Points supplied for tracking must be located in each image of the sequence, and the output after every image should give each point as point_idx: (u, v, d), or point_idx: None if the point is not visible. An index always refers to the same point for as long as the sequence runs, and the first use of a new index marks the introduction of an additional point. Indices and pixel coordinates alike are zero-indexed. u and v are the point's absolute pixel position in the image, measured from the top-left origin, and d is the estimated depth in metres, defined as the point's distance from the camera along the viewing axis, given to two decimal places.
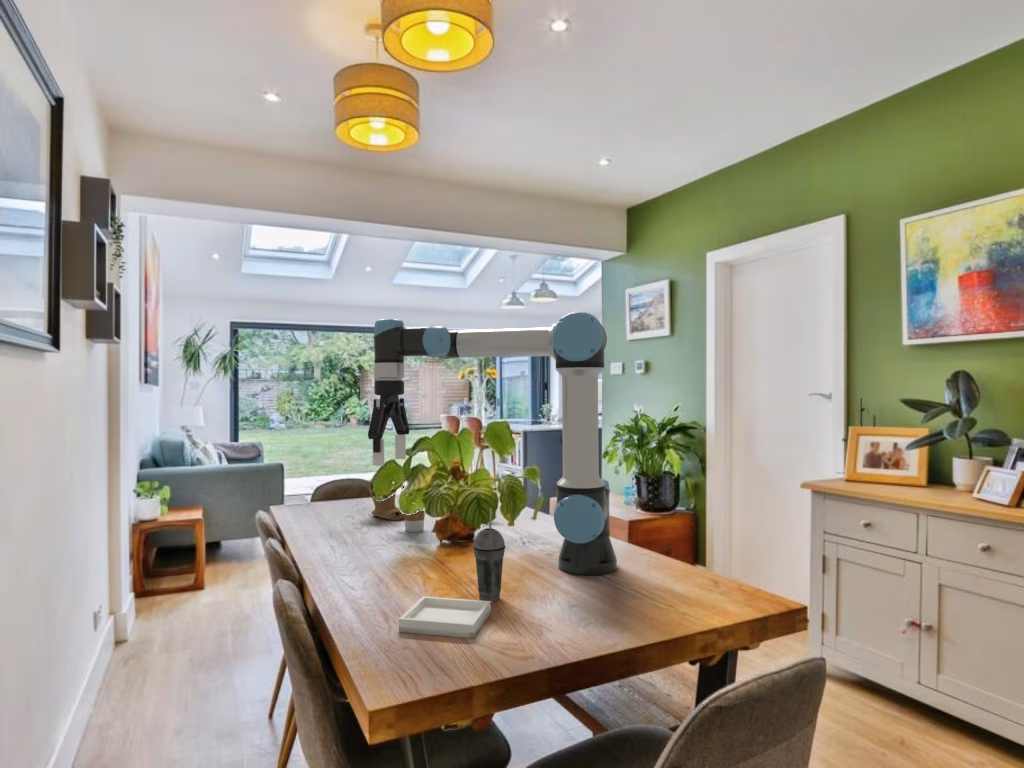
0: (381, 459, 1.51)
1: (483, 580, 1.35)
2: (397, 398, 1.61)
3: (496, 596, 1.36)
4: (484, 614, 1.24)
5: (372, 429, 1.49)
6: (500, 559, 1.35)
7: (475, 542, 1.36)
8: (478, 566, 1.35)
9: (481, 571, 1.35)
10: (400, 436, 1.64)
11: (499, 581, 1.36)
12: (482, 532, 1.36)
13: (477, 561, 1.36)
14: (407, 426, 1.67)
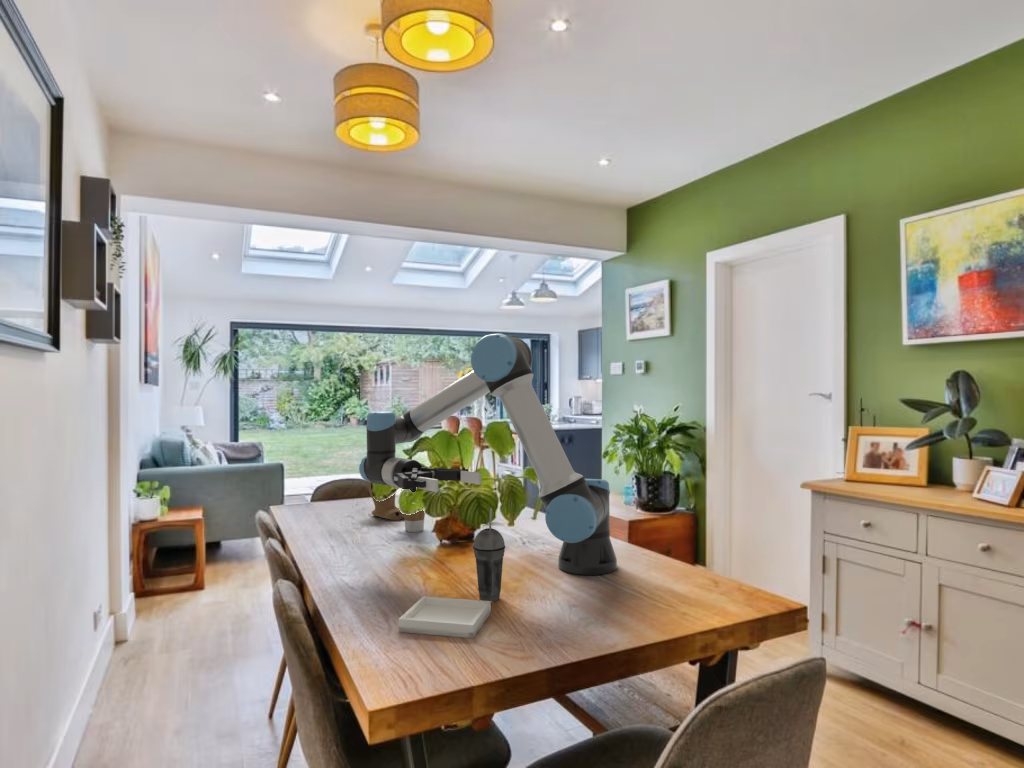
0: (431, 480, 1.40)
1: (483, 580, 1.35)
2: None
3: (496, 596, 1.36)
4: (484, 614, 1.24)
5: (402, 483, 1.43)
6: (500, 559, 1.35)
7: (475, 542, 1.36)
8: (478, 566, 1.35)
9: (481, 571, 1.35)
10: (461, 475, 1.53)
11: (499, 581, 1.36)
12: (482, 532, 1.36)
13: (477, 561, 1.36)
14: (462, 469, 1.56)
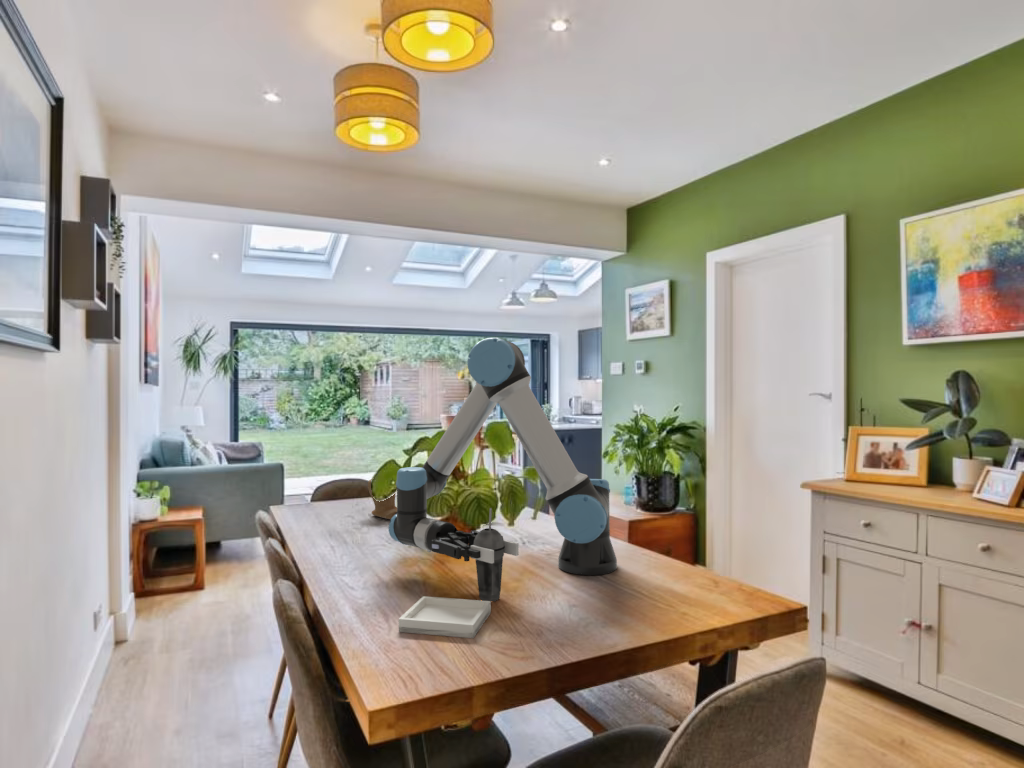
0: (486, 551, 1.32)
1: (483, 581, 1.35)
2: None
3: (496, 596, 1.36)
4: (484, 614, 1.24)
5: (453, 553, 1.35)
6: (500, 559, 1.35)
7: (475, 542, 1.36)
8: (478, 566, 1.35)
9: (481, 571, 1.35)
10: None
11: (499, 581, 1.36)
12: (482, 532, 1.36)
13: (477, 561, 1.36)
14: None
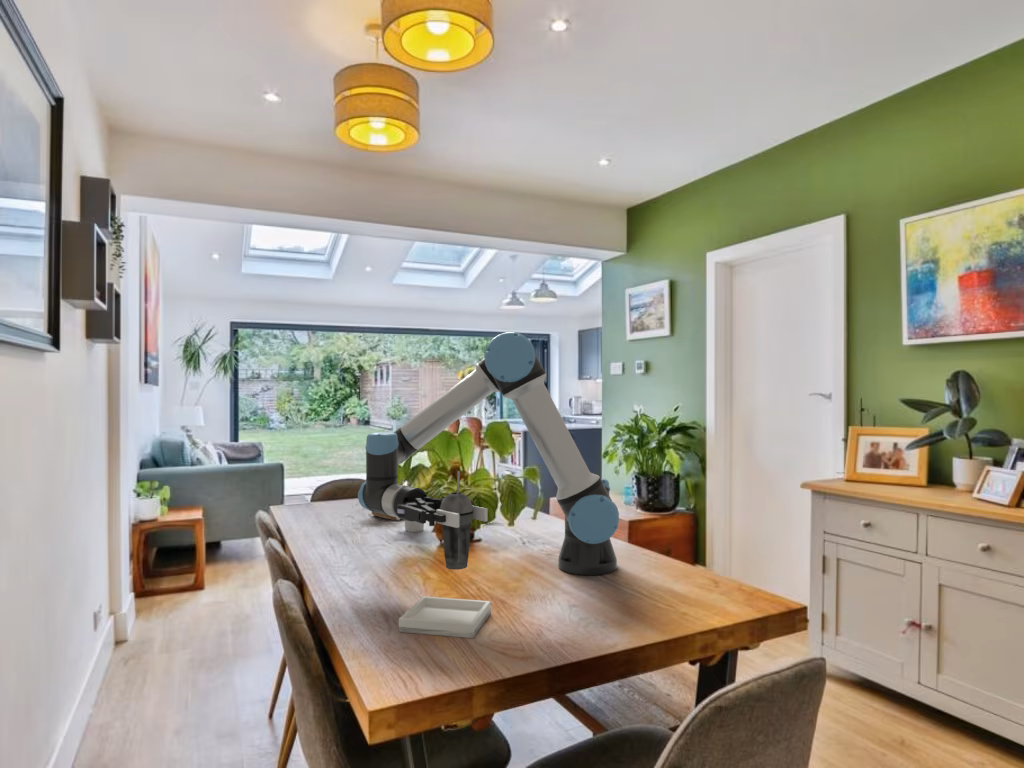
0: (451, 515, 1.24)
1: (449, 547, 1.27)
2: None
3: (463, 563, 1.28)
4: (484, 614, 1.24)
5: (417, 517, 1.27)
6: (467, 524, 1.28)
7: (441, 506, 1.28)
8: (444, 532, 1.28)
9: (447, 537, 1.27)
10: None
11: (466, 548, 1.28)
12: (448, 496, 1.28)
13: (443, 526, 1.28)
14: None
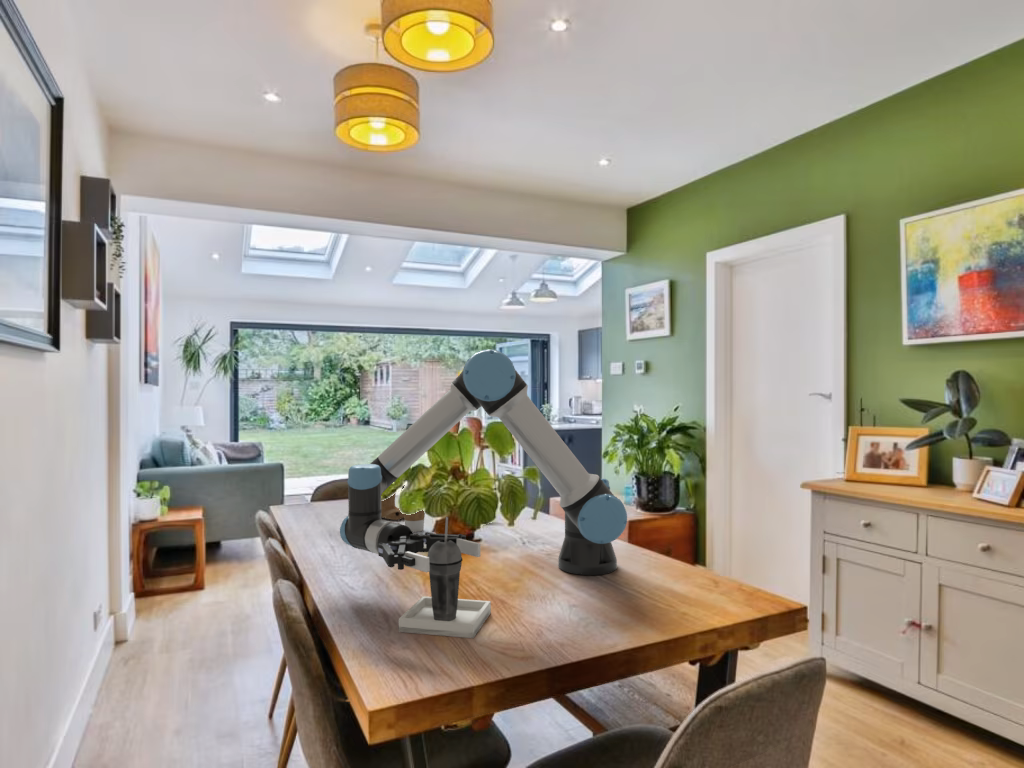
0: (421, 558, 1.18)
1: (437, 598, 1.21)
2: None
3: (452, 615, 1.22)
4: (484, 614, 1.24)
5: (387, 560, 1.21)
6: (456, 574, 1.22)
7: (428, 555, 1.22)
8: (431, 582, 1.22)
9: (435, 588, 1.21)
10: (457, 544, 1.31)
11: (455, 598, 1.22)
12: (436, 544, 1.22)
13: (430, 576, 1.22)
14: (458, 535, 1.34)
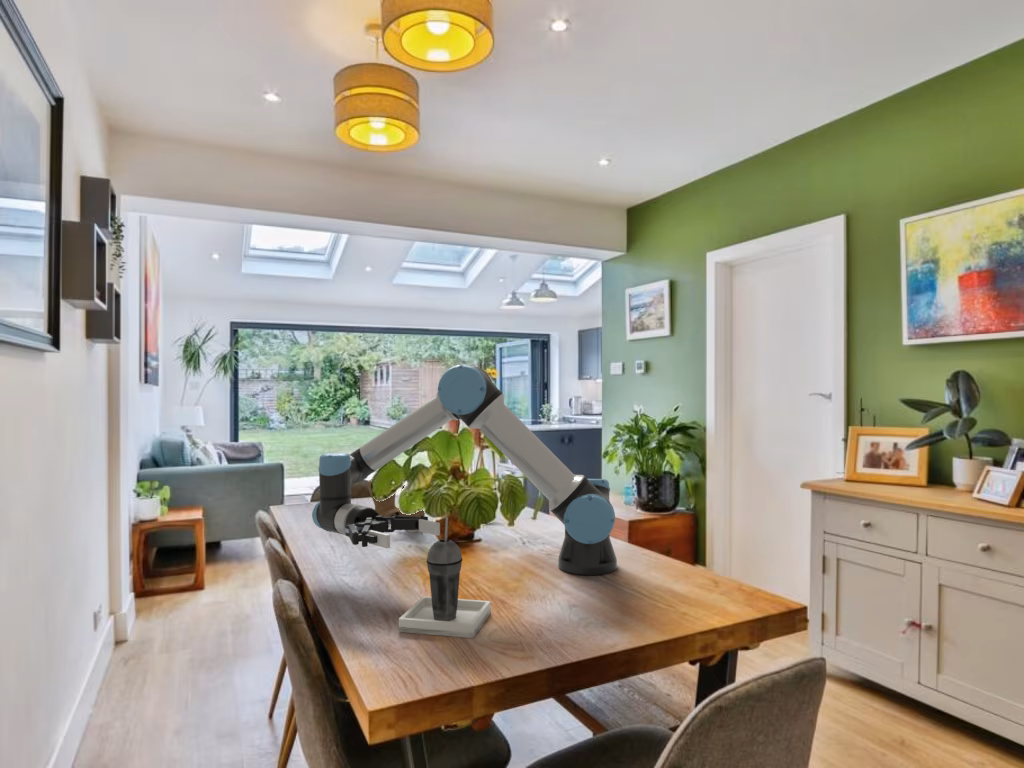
0: (382, 536, 1.27)
1: (437, 598, 1.21)
2: None
3: (452, 615, 1.22)
4: (484, 614, 1.24)
5: (352, 538, 1.31)
6: (456, 574, 1.22)
7: (428, 555, 1.22)
8: (431, 582, 1.22)
9: (435, 588, 1.21)
10: (419, 524, 1.41)
11: (455, 598, 1.22)
12: (436, 544, 1.22)
13: (430, 576, 1.22)
14: None
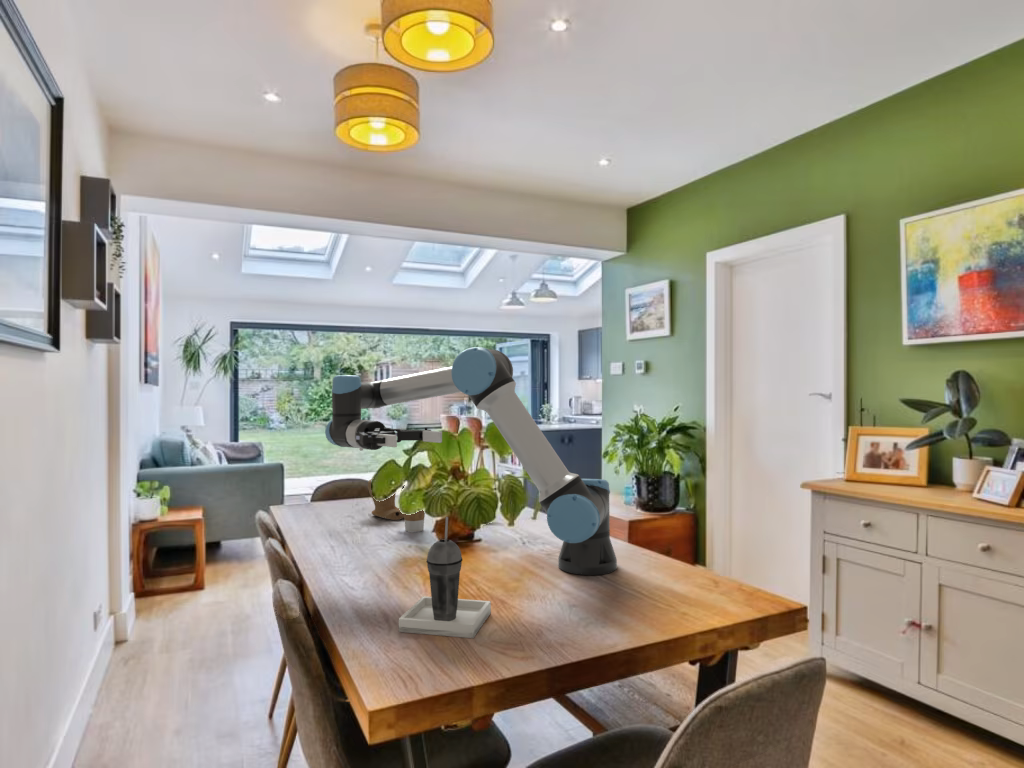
0: (389, 436, 1.41)
1: (437, 598, 1.21)
2: None
3: (452, 615, 1.22)
4: (484, 614, 1.24)
5: (362, 440, 1.45)
6: (456, 574, 1.22)
7: (428, 555, 1.22)
8: (431, 582, 1.22)
9: (435, 588, 1.21)
10: (423, 435, 1.54)
11: (455, 598, 1.22)
12: (436, 544, 1.22)
13: (430, 576, 1.22)
14: None
